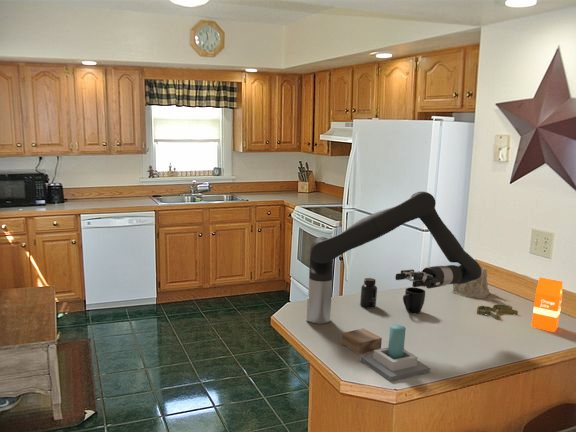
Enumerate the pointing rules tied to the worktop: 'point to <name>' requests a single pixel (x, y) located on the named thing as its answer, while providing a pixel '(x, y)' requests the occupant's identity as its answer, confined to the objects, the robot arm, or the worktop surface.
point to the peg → (396, 341)
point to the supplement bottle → (368, 293)
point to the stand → (361, 341)
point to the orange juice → (547, 304)
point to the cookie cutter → (500, 309)
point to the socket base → (394, 365)
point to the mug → (414, 300)
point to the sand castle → (473, 287)
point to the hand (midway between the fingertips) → (404, 280)
